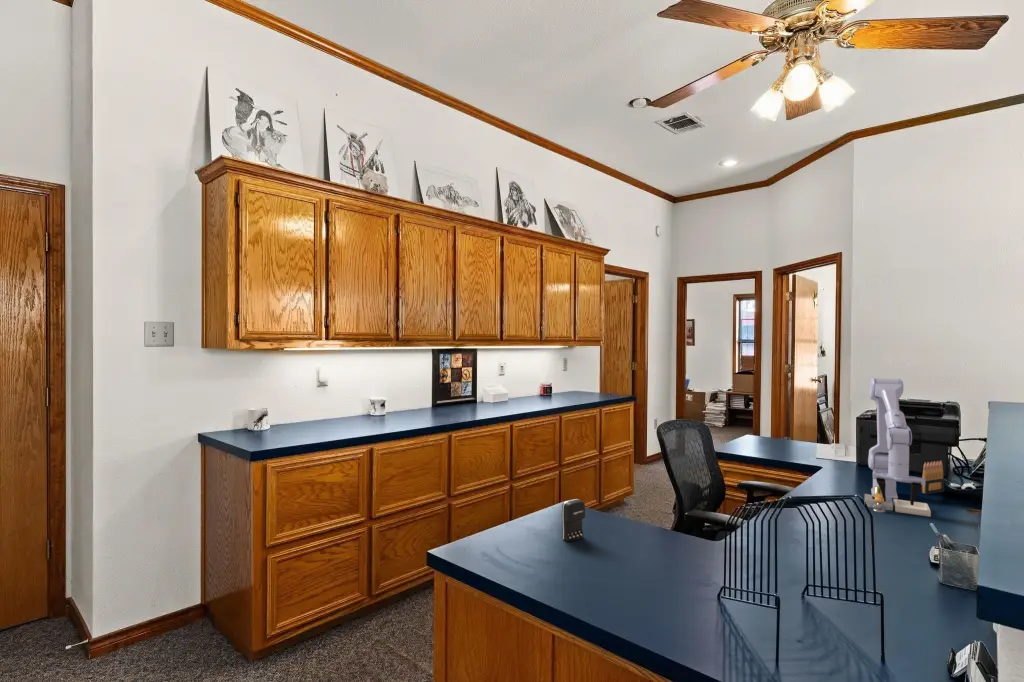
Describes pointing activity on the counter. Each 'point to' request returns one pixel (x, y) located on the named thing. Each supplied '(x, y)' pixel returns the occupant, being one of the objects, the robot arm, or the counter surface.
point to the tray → (912, 508)
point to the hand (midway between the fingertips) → (897, 502)
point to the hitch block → (879, 504)
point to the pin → (877, 491)
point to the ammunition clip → (933, 478)
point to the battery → (572, 519)
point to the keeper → (879, 498)
